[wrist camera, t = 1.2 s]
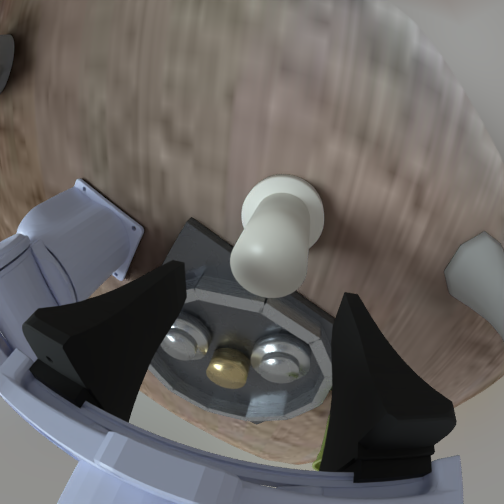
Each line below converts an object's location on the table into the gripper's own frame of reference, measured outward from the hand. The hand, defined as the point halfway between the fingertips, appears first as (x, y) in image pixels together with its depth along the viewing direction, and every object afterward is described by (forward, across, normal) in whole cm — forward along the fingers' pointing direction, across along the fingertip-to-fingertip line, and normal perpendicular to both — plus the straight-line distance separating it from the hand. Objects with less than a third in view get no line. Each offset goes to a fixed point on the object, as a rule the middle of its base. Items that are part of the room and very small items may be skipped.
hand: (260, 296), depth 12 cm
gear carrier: (+10, +3, +18) cm, 21 cm away
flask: (+11, -19, +2) cm, 22 cm away
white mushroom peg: (+10, 0, 0) cm, 11 cm away
